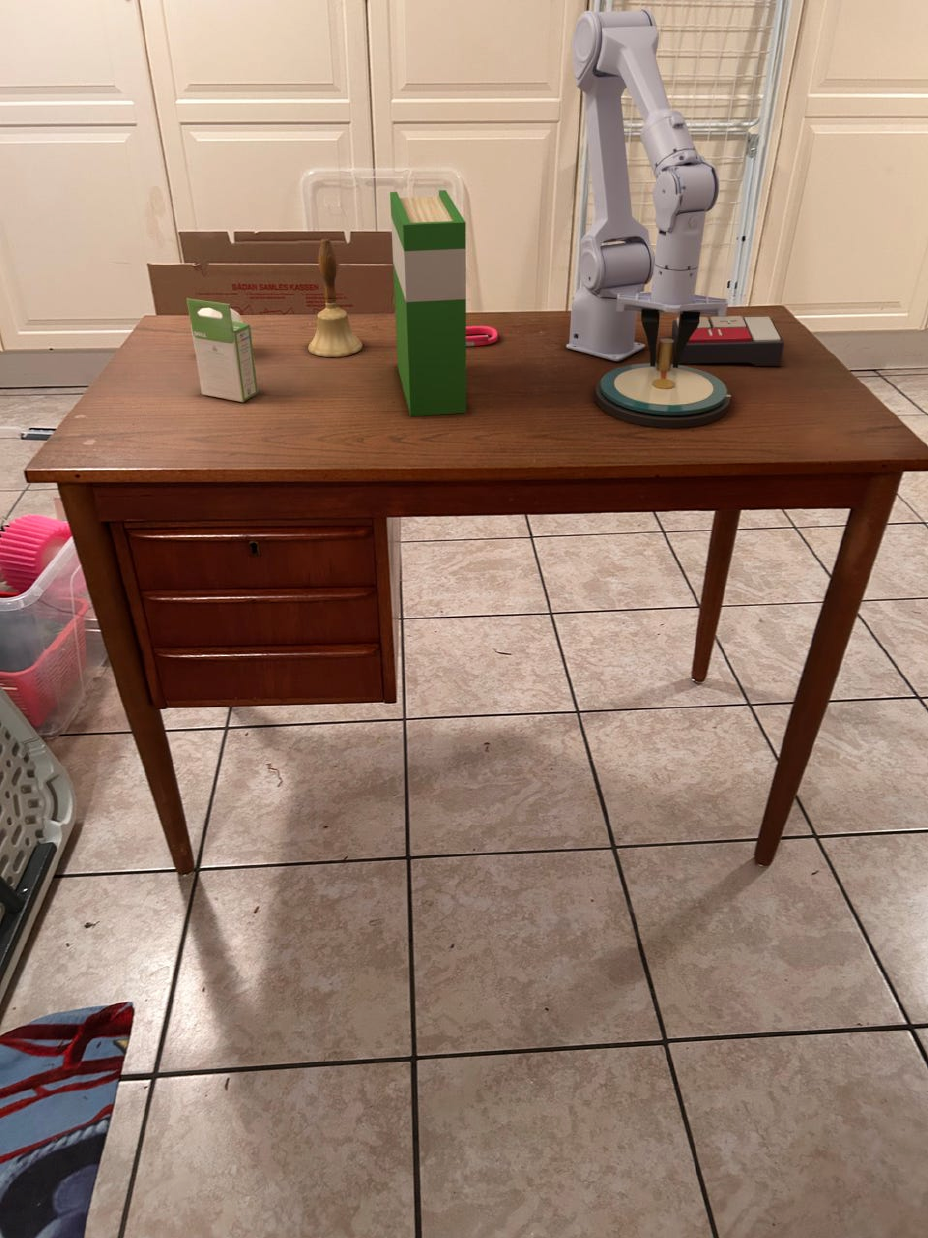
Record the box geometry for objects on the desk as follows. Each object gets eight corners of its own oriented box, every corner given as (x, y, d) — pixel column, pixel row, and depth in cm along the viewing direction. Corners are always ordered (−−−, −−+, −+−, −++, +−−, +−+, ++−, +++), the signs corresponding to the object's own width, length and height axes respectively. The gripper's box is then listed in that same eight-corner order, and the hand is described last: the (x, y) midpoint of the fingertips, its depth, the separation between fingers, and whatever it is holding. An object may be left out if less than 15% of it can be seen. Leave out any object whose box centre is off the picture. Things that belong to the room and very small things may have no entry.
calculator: (672, 315, 148) (772, 312, 146) (670, 342, 150) (768, 340, 149) (679, 339, 139) (785, 337, 137) (677, 368, 141) (781, 366, 140)
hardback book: (397, 367, 140) (390, 191, 126) (447, 364, 141) (445, 189, 127) (410, 416, 126) (403, 224, 112) (466, 412, 127) (465, 222, 113)
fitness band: (448, 347, 147) (448, 338, 146) (443, 335, 152) (443, 325, 151) (500, 345, 148) (500, 335, 147) (494, 332, 152) (494, 322, 152)
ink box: (260, 393, 132) (247, 295, 125) (243, 404, 129) (228, 304, 122) (219, 385, 135) (203, 289, 127) (201, 395, 132) (184, 297, 124)
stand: (569, 403, 129) (569, 395, 129) (638, 366, 141) (639, 357, 140) (687, 440, 120) (689, 431, 119) (752, 396, 131) (753, 387, 130)
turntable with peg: (729, 419, 122) (735, 384, 119) (597, 410, 124) (599, 375, 121) (723, 370, 135) (728, 338, 132) (603, 363, 137) (606, 331, 135)
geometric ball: (220, 368, 148) (217, 316, 148) (258, 357, 143) (255, 304, 144) (181, 356, 141) (178, 303, 141) (220, 345, 137) (217, 290, 137)
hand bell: (298, 353, 145) (286, 243, 136) (325, 335, 151) (315, 229, 142) (346, 360, 142) (338, 249, 133) (371, 342, 149) (365, 235, 139)
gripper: (619, 270, 123) (610, 371, 131) (734, 275, 121) (718, 378, 129) (621, 255, 129) (612, 353, 137) (731, 260, 127) (716, 359, 135)
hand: (663, 364), depth 133 cm, fingers closed
